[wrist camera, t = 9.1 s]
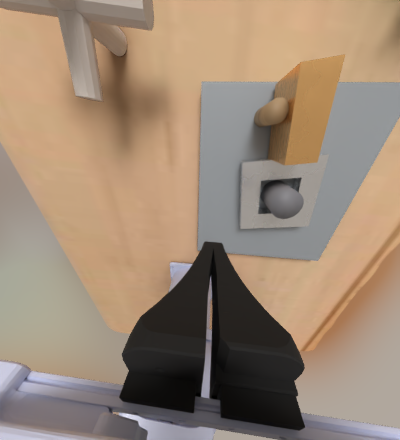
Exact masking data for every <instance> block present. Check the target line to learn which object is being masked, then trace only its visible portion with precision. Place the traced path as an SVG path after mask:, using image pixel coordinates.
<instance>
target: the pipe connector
mask: <svg viewBox="0 0 400 440" xmlns="http://www.w3.org/2000/svg"><path fill="white" fill-rule="evenodd" d="M0 8H4V9H7V10H13V11H20V12H27V13H34V14H40V15H47V16H54V17H58V18H59V22H60V27H61V31H62V36H63V41H64V45H65V50H66V54H67V59H68V63H69V68H70V72H71V77H72V81H73V86H74V90H75V95H76V96H77V97H80V98H84V99H89V100H94V101H100V102H103V95H102V89H101V82H100V75H99V69H98V62H97V55H96V49H95V42H94V38H95V39H96V40H98V41H99V42H100V43H101V44H103V45H104V46H105V47H106V48H108V49H109V50H110V51H111V52H113V53H114V54H115V55H117V56H122V55H124V54H125V52H126V50H127V40H126V37H125V35H124V33H123V32H122V31H121V30H120V28H119V27H118V26H123V27H130V28H137V29H144V30H151V31H152V28H153V23H154V12H153V2H152V0H0Z"/></svg>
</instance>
